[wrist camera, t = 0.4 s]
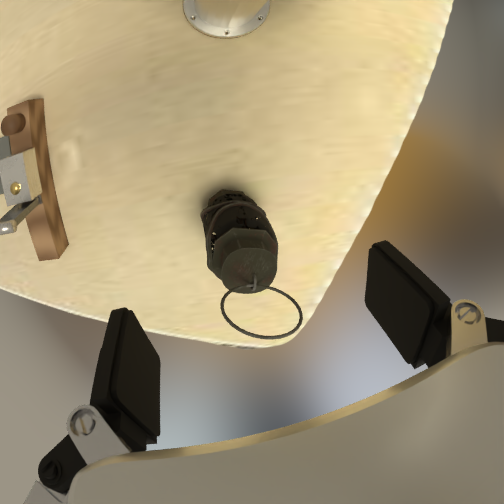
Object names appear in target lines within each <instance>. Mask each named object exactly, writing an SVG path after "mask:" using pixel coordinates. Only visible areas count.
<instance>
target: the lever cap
mask: <svg viewBox="0 0 504 504" xmlns="http://www.w3.org/2000/svg"><path fill="white" fill-rule="evenodd" d="M0 176H1V181H2V186H3V191H4V195H5V199H6V203H7V206H11V205H15V204H19V203H23V202H27V201H31V200H33V199H34V198H35V197H37V196H38V195H39V194H41V193H42V188H41V183H40V178H39V172H38V167H37V161H36V154H35V147H34V148H31V149H28V150H25V151H22V152H19V153H16V154H13V155H10V156H8V157H6V158H4V159H2V160H0Z"/></svg>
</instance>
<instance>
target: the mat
mask: <svg viewBox="0 0 504 504" xmlns="http://www.w3.org/2000/svg"><path fill="white" fill-rule="evenodd" d="M10 155H12V152H11V145H10V137H9V136H4V137H2V138H0V160H2V159H4V158H6V157H8V156H10ZM3 193H4V191H3V186H2V181H1V176H0V194H3Z"/></svg>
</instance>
